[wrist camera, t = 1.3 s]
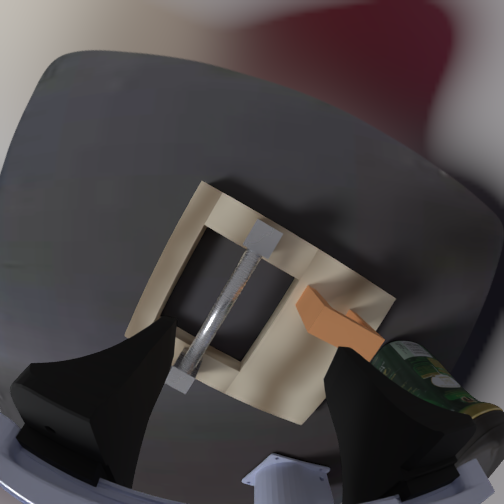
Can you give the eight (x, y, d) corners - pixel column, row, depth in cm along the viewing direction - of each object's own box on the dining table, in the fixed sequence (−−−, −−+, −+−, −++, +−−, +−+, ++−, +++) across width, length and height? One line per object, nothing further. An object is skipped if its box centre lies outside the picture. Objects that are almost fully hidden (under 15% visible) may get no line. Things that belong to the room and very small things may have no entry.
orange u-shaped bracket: (356, 313, 23) (385, 339, 17) (344, 332, 23) (368, 363, 17) (307, 284, 22) (325, 306, 16) (295, 305, 23) (307, 332, 17)
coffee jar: (396, 409, 26) (465, 511, 7) (343, 406, 26) (400, 537, 7) (431, 341, 25) (539, 424, 6) (379, 331, 25) (495, 445, 6)
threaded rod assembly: (278, 232, 22) (283, 234, 18) (193, 373, 23) (185, 394, 20) (257, 219, 22) (257, 218, 18) (175, 362, 23) (164, 382, 20)
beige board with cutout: (386, 293, 24) (395, 298, 22) (298, 413, 26) (301, 425, 24) (206, 184, 24) (201, 180, 22) (132, 328, 25) (124, 335, 23)
